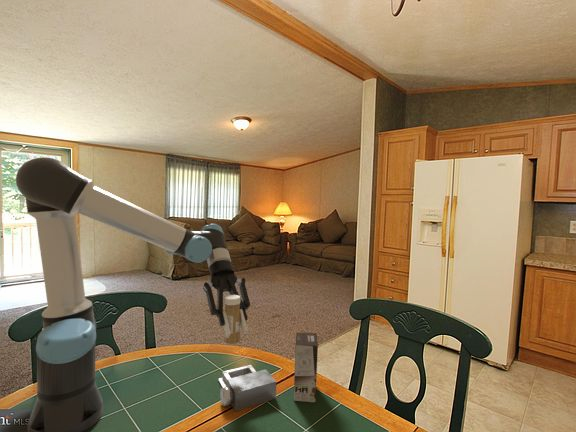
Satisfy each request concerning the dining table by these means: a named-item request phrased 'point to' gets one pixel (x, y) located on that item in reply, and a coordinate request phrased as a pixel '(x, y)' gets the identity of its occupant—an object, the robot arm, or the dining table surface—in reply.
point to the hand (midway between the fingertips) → (237, 333)
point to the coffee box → (305, 367)
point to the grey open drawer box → (246, 387)
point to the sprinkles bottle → (233, 318)
